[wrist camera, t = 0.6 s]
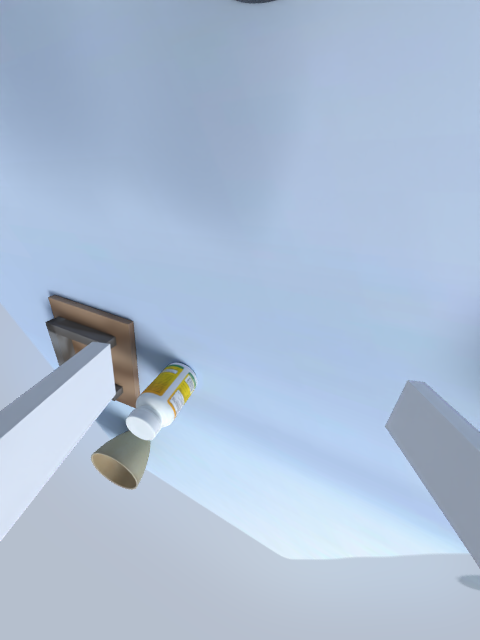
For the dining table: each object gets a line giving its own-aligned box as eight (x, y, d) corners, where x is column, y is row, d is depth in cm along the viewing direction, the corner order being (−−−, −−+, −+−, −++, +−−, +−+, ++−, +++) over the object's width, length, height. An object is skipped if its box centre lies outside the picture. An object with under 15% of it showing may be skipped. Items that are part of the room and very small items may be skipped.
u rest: (54, 294, 35) (34, 302, 33) (133, 321, 33) (117, 331, 30) (78, 378, 44) (63, 389, 42) (140, 404, 42) (129, 417, 39)
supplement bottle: (204, 377, 34) (167, 434, 26) (188, 394, 36) (150, 450, 28) (175, 354, 33) (128, 405, 25) (161, 373, 36) (115, 424, 28)
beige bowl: (142, 418, 44) (114, 453, 38) (169, 453, 47) (147, 491, 41) (110, 421, 48) (80, 453, 42) (137, 453, 52) (112, 487, 46)
